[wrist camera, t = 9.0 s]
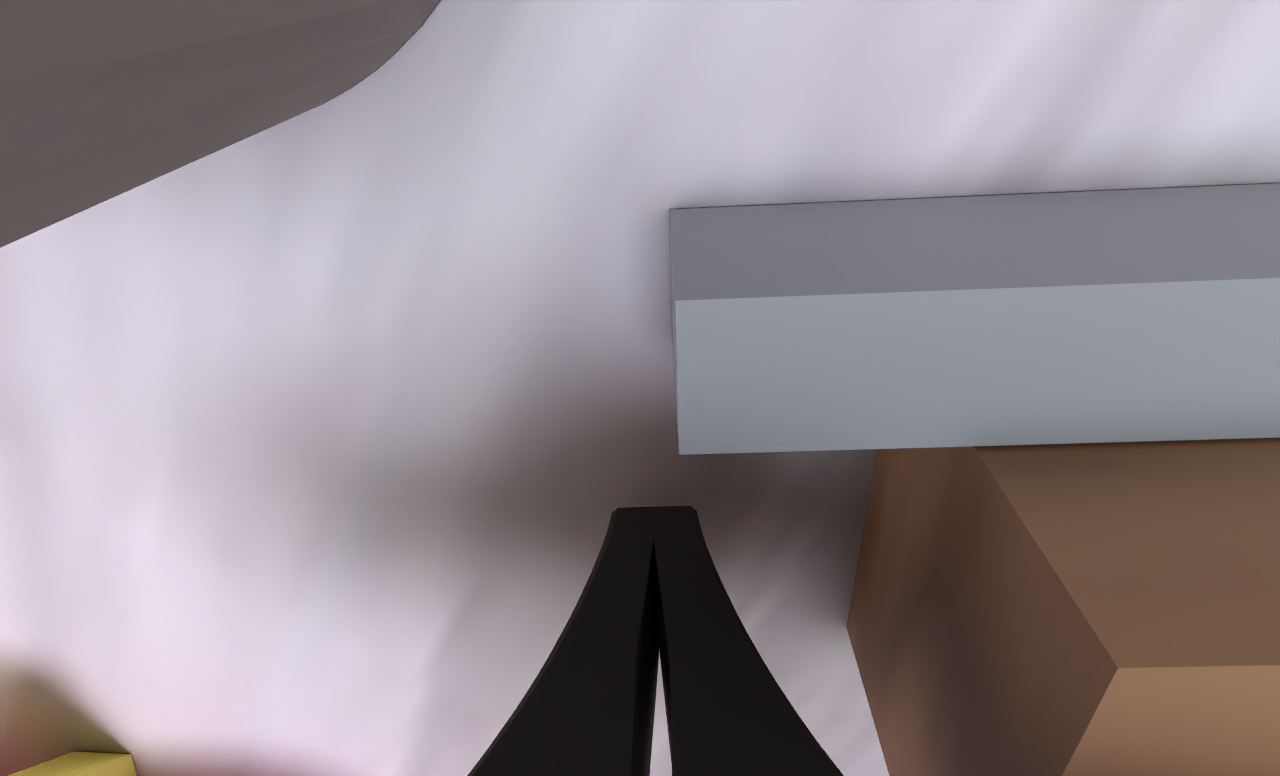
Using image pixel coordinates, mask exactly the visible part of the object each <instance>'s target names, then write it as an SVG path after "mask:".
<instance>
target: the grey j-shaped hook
mask: <svg viewBox="0 0 1280 776" xmlns="http://www.w3.org/2000/svg"><path fill="white" fill-rule="evenodd" d="M669 218H670V257H671V296H672V334H673V354H674V372H675V391H676V410H677V428H678V447H679V455H690V454H725V453H759V452H794V451H828V450H863V449H898V448H932V447H967V446H1001V445H1036V444H1070V443H1105V442H1139V441H1174V440H1208V439H1243V438H1278V437H1280V183H1270V184H1247V185H1224V186H1200V187H1177V188H1154V189H1130V190H1107V191H1084V192H1060V193H1037V194H1014V195H990V196H967V197H944V198H920V199H897V200H874V201H850V202H827V203H804V204H780V205H757V206H734V207H710V208H687V209H669Z"/></svg>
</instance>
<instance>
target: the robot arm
mask: <svg viewBox="0 0 1280 776" xmlns="http://www.w3.org/2000/svg"><path fill="white" fill-rule="evenodd" d="M659 650H660V659H661V669H662V678H663V687H664V697H665V706H666V715H667V724H668V734H669V743H670V752H671V761H672V776H844V775H843V774H842V773H841V772H840V770H839V769H838V768H837V767H836V765H835V764H834V763H833V761H832V760H831V759H830V758H829V756H828V755H827V754H826V753H825V751H824V750H823V749H822V747H821V746H820V745H819V743H818V742H817V741H816V739H815V738H814V737H813V735H812V734H811V732H810V731H809V729H808V728H807V727H806V725H805V724H804V722H803V721H802V720H801V718H800V717H799V715H798V714H797V712H796V711H795V710H794V708H793V707H792V705H791V704H790V702H789V701H788V699H787V698H786V696H785V695H784V693H783V692H782V690H781V689H780V687H779V685H778V684H777V682H776V681H775V679H774V678H773V676H772V674H771V673H770V671H769V670H768V668H767V666H766V665H765V663H764V661H763V660H762V658H761V656H760V655H759V653H758V651H757V649H756V647H755V646H754V644H753V642H752V640H751V639H750V637H749V635H748V633H747V632H746V630H745V628H744V626H743V624H742V622H741V620H740V619H739V617H738V615H737V613H736V611H735V609H734V607H733V605H732V603H731V601H730V598H729V596H728V594H727V592H726V590H725V588H724V586H723V584H722V582H721V580H720V578H719V575H718V573H717V571H716V568H715V566H714V563H713V561H712V558H711V556H710V554H709V551H708V548H707V546H706V543H705V540H704V537H703V534H702V531H701V527H700V523H699V519H698V514H697V511H696V510H695V509H694V508H692V507H691V506H667V507H629V508H617V509H616V510H615V511H614V512H613V513H612V515H611V519H610V523H609V527H608V530H607V533H606V536H605V539H604V542H603V545H602V548H601V550H600V553H599V555H598V558H597V560H596V563H595V565H594V568H593V570H592V573H591V575H590V577H589V579H588V581H587V583H586V585H585V588H584V590H583V592H582V594H581V596H580V598H579V601H578V603H577V605H576V607H575V609H574V611H573V613H572V615H571V617H570V619H569V621H568V622H567V624H566V626H565V628H564V630H563V632H562V633H561V635H560V637H559V639H558V641H557V643H556V644H555V646H554V648H553V650H552V652H551V654H550V655H549V657H548V659H547V661H546V662H545V664H544V666H543V667H542V669H541V671H540V672H539V674H538V676H537V677H536V679H535V680H534V682H533V684H532V685H531V687H530V688H529V690H528V691H527V693H526V694H525V696H524V697H523V699H522V701H521V702H520V704H519V705H518V707H517V708H516V710H515V711H514V713H513V714H512V716H511V717H510V718H509V720H508V721H507V723H506V724H505V725H504V727H503V728H502V730H501V731H500V732H499V734H498V735H497V737H496V738H495V739H494V741H493V742H492V744H491V745H490V747H489V748H488V749H487V751H486V752H485V753H484V755H483V756H482V757H481V759H480V760H479V761H478V763H477V764H476V765H475V767H474V768H473V769H472V770H471V772H470V773H469V774H468V776H649V774H650V761H651V749H652V736H653V724H654V711H655V698H656V685H657V673H658V660H659Z"/></svg>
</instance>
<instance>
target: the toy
mask: <svg viewBox="0 0 1280 776" xmlns="http://www.w3.org/2000/svg"><path fill="white" fill-rule="evenodd" d="M7 776H137V774H136V770H135V766H134V763H133V759H132V755H131V754H115V753H93V752H71V753H68V754H65V755H62V756H60V757H57V758H54V759H51V760H49V761H46V762H43V763H40V764H38V765H35V766H32V767H29V768H27V769H24V770H21V771H18V772H16V773H13V774H10V775H7Z"/></svg>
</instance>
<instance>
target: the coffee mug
mask: <svg viewBox="0 0 1280 776" xmlns="http://www.w3.org/2000/svg"><path fill="white" fill-rule="evenodd" d="M440 1H441V0H0V247H3V246H5V245H7V244H9V243H11V242H14V241H16V240H18V239H20V238H23V237H25V236H27V235H29V234H32V233H34V232H36V231H38V230H41V229H43V228H45V227H47V226H50V225H52V224H54V223H56V222H59V221H61V220H63V219H65V218H68V217H70V216H72V215H74V214H77V213H79V212H81V211H83V210H86V209H88V208H90V207H92V206H95V205H97V204H99V203H101V202H104V201H106V200H108V199H110V198H113V197H115V196H117V195H119V194H122V193H124V192H126V191H128V190H131V189H133V188H135V187H137V186H140V185H142V184H144V183H146V182H149V181H151V180H153V179H155V178H158V177H160V176H162V175H164V174H166V173H169V172H171V171H173V170H175V169H178V168H180V167H182V166H184V165H187V164H189V163H191V162H193V161H196V160H198V159H200V158H202V157H205V156H207V155H209V154H211V153H214V152H216V151H218V150H220V149H223V148H225V147H227V146H229V145H232V144H234V143H236V142H238V141H241V140H243V139H245V138H247V137H250V136H252V135H254V134H256V133H259V132H261V131H263V130H265V129H268V128H270V127H272V126H274V125H277V124H279V123H281V122H283V121H286V120H288V119H290V118H292V117H295V116H297V115H299V114H301V113H304V112H306V111H308V110H310V109H312V108H315V107H317V106H319V105H321V104H324V103H325V102H327V101H329V100H331V99H333V98H335V97H336V96H338V95H340V94H342V93H344V92H345V91H347V90H349V89H351V88H352V87H354V86H355V85H356V84H358V83H359V82H361V81H362V80H363V79H365V78H366V77H368V76H369V75H370V74H372V73H373V72H375V71H376V70H377V69H379V68H380V67H381V66H382V65H383V64H384V63H385V62H386V61H387V60H388V59H390V58H391V57H392V56H393V55H394V54H395V53H396V52H397V51H398V50H399V49H400V48H401V47H402V46H403V44H404V43H405V42H406V41H407V40H408V39H409V38H410V37H411V36H412V35H413V34H414V33H415V32H416V31H417V30H418V29H419V28H420V27H421V26H422V25H423V23H424V22H425V21H426V19H427V18H428V17H429V15H430V14H431V13H432V11H433V10H434V9H435V7H436V6H437V5H438V3H439V2H440Z"/></svg>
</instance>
